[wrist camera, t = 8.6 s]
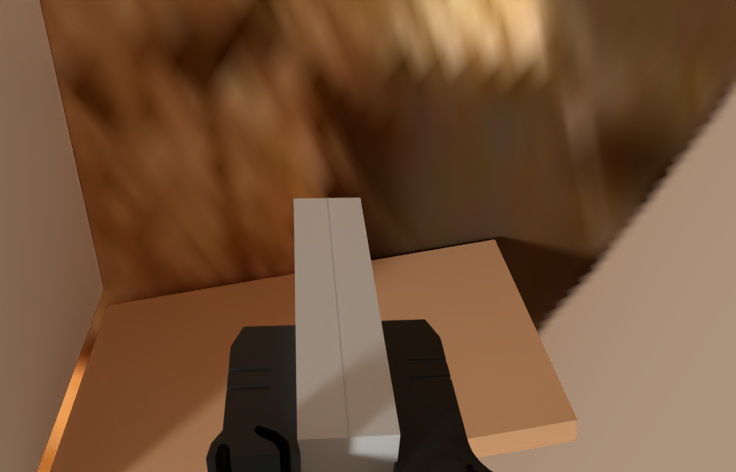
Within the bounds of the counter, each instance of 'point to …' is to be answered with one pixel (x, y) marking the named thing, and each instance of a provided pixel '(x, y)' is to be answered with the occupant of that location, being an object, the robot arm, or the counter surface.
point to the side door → (277, 307)
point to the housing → (38, 242)
